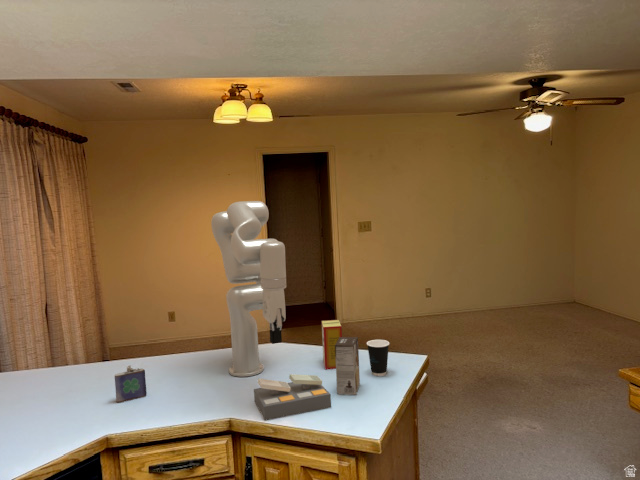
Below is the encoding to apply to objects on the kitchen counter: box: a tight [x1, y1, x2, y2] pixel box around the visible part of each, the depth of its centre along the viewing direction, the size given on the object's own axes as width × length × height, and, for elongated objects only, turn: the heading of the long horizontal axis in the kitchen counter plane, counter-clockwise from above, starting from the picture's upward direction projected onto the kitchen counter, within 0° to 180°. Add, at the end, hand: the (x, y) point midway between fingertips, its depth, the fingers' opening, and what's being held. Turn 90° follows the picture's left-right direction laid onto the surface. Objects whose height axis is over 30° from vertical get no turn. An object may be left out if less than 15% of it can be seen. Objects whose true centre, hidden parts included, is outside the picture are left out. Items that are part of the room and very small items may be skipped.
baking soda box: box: [321, 319, 343, 370], centre depth 175 cm, size 10×6×16 cm
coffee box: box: [335, 336, 361, 396], centre depth 151 cm, size 9×6×16 cm
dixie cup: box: [366, 339, 391, 377], centre depth 164 cm, size 8×8×11 cm
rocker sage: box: [288, 373, 323, 386], centre depth 145 cm, size 5×9×1 cm, turn 110°
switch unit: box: [253, 381, 332, 421], centre depth 142 cm, size 14×20×5 cm
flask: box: [114, 365, 148, 403], centre depth 152 cm, size 9×3×11 cm, turn 121°
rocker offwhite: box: [257, 378, 291, 392], centre depth 141 cm, size 5×9×1 cm, turn 110°
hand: (275, 342), depth 143 cm, fingers closed
